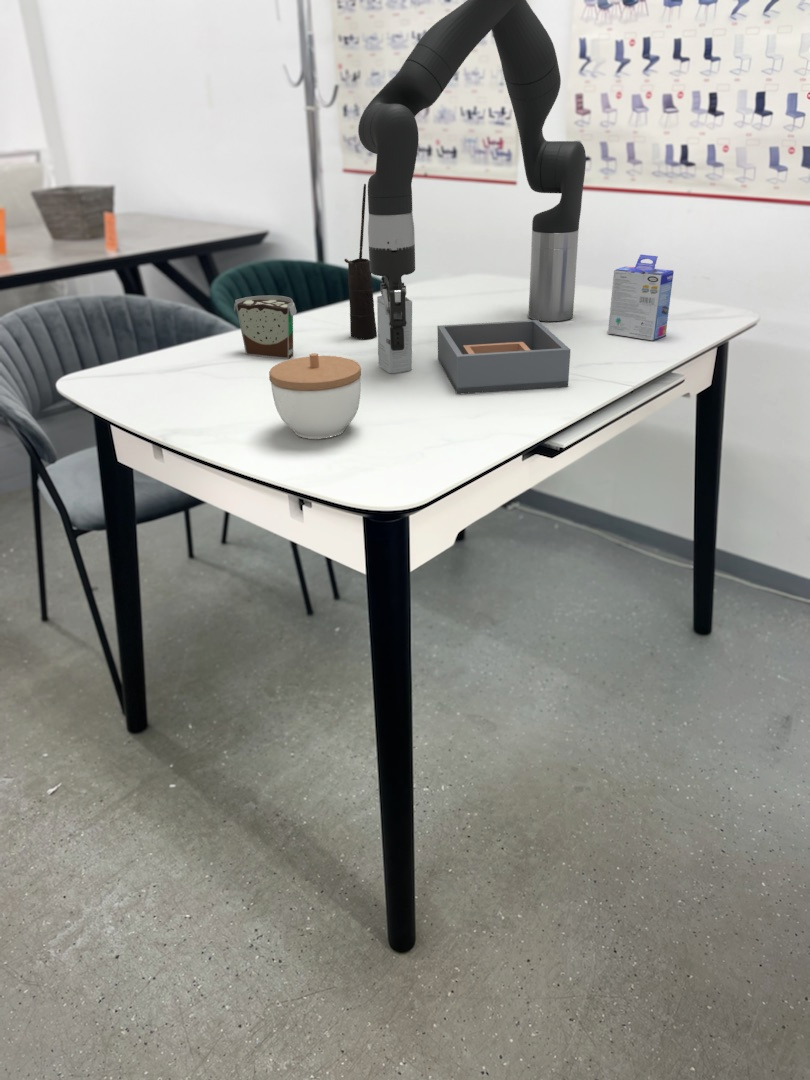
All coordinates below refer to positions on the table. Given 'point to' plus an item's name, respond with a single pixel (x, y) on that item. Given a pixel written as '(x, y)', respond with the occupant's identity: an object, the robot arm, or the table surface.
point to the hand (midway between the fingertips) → (395, 343)
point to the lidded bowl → (316, 394)
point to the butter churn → (361, 292)
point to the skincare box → (386, 355)
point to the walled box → (502, 356)
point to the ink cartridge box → (640, 300)
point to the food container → (267, 325)
